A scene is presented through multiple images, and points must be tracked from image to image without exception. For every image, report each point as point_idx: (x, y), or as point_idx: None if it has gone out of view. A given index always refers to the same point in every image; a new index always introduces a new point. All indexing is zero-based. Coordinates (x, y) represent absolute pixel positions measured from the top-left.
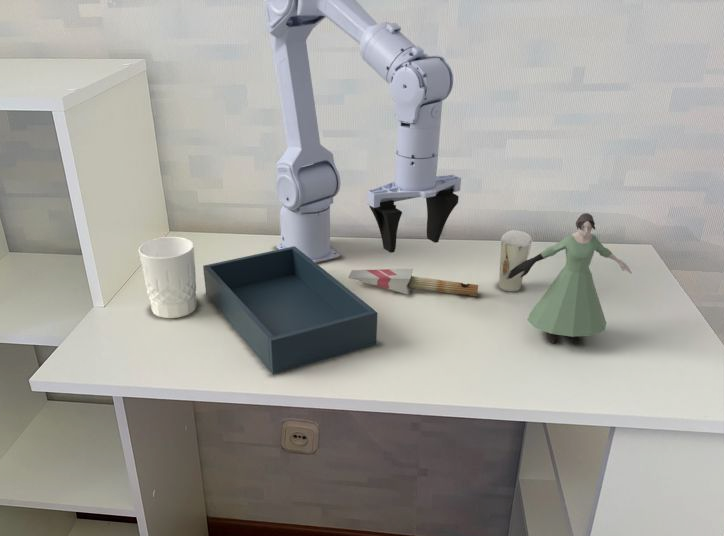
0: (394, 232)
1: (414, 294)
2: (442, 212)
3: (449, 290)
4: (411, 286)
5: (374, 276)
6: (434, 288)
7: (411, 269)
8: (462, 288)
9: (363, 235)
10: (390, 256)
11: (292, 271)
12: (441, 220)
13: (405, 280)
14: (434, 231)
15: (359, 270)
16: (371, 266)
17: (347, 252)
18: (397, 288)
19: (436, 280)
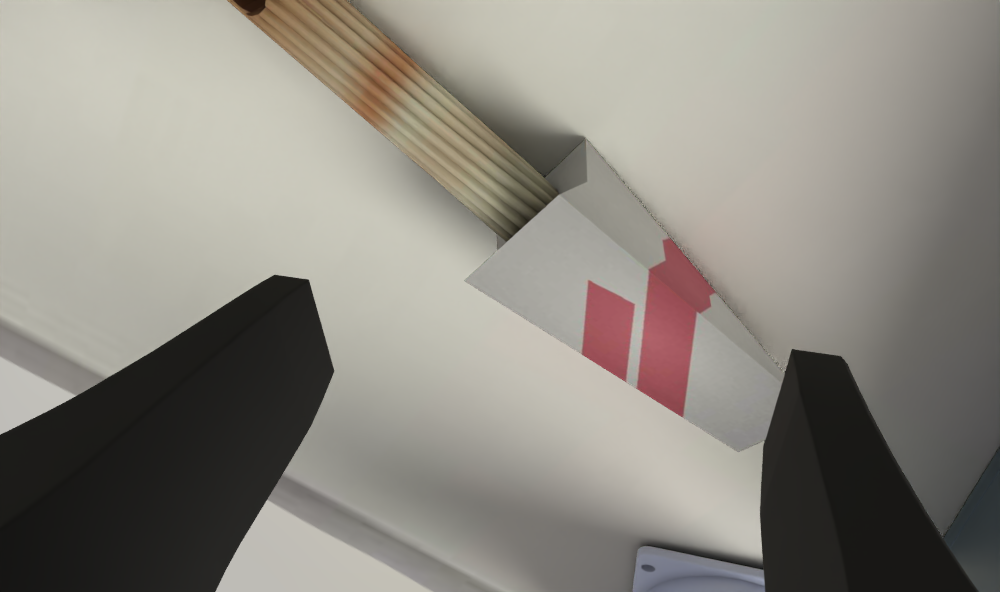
0: (889, 563)
1: (549, 127)
2: (25, 520)
3: (354, 13)
4: (541, 179)
5: (705, 343)
6: (430, 82)
7: (479, 280)
8: None
9: (450, 579)
10: (441, 446)
11: None
12: (115, 428)
13: (583, 208)
14: (256, 372)
15: (711, 429)
16: (566, 437)
17: (581, 547)
18: (629, 204)
19: (393, 119)
